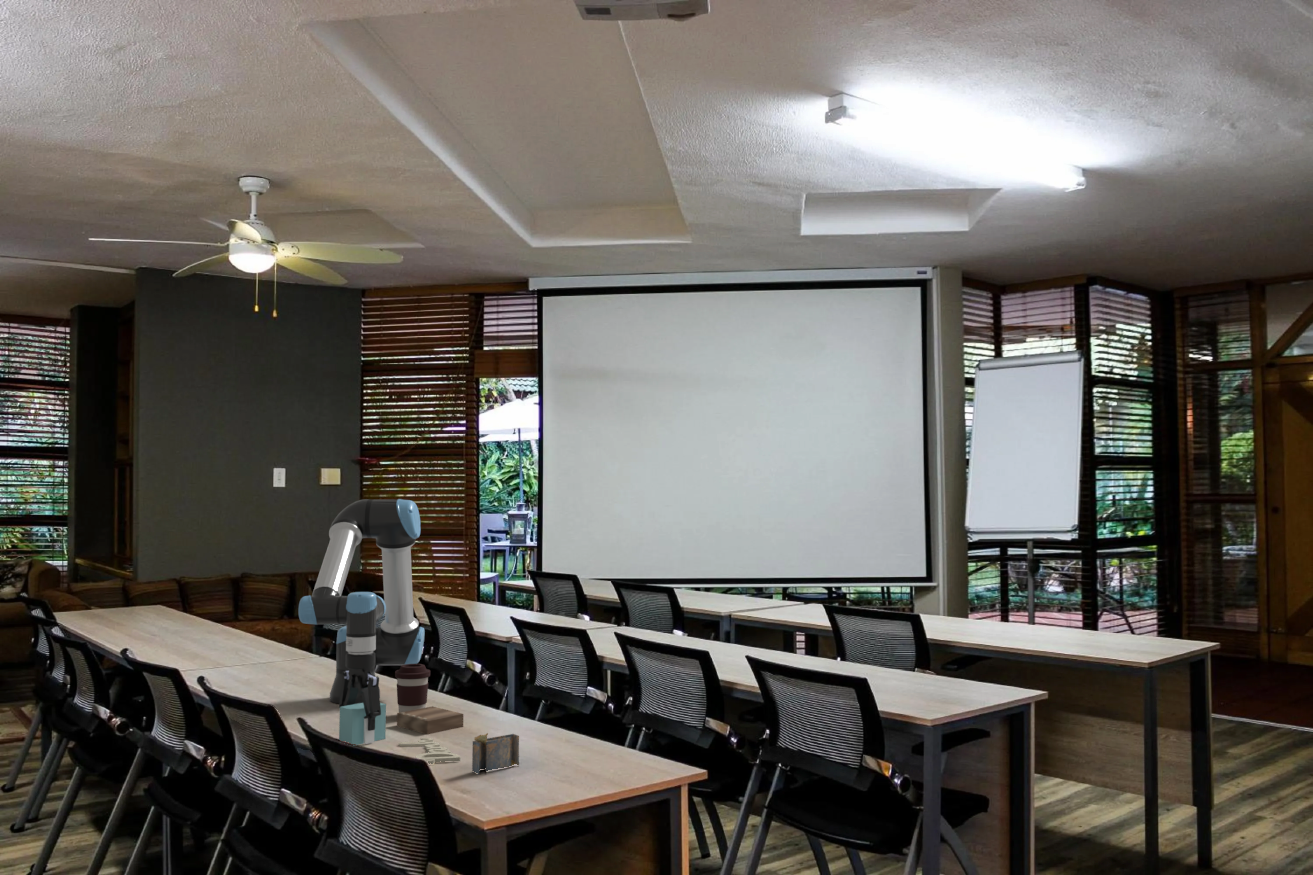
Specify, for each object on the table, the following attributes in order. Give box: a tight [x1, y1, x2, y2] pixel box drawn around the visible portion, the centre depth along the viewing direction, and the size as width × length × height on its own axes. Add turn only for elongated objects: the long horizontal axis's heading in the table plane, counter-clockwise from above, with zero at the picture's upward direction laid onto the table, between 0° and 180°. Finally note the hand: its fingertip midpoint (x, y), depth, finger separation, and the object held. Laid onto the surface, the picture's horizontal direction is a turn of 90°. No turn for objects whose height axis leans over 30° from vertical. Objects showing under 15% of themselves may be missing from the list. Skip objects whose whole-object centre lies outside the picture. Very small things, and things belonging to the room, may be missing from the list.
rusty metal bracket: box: [471, 732, 520, 774], centre depth 249 cm, size 11×3×10 cm, turn 131°
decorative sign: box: [397, 737, 461, 764], centre depth 263 cm, size 23×2×10 cm
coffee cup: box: [394, 663, 431, 713], centre depth 302 cm, size 10×10×15 cm
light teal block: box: [338, 702, 387, 746], centre depth 274 cm, size 6×10×9 cm, turn 139°
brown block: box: [396, 705, 464, 735], centre depth 290 cm, size 14×12×4 cm
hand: (358, 739), depth 273 cm, fingers open, 8 cm apart
